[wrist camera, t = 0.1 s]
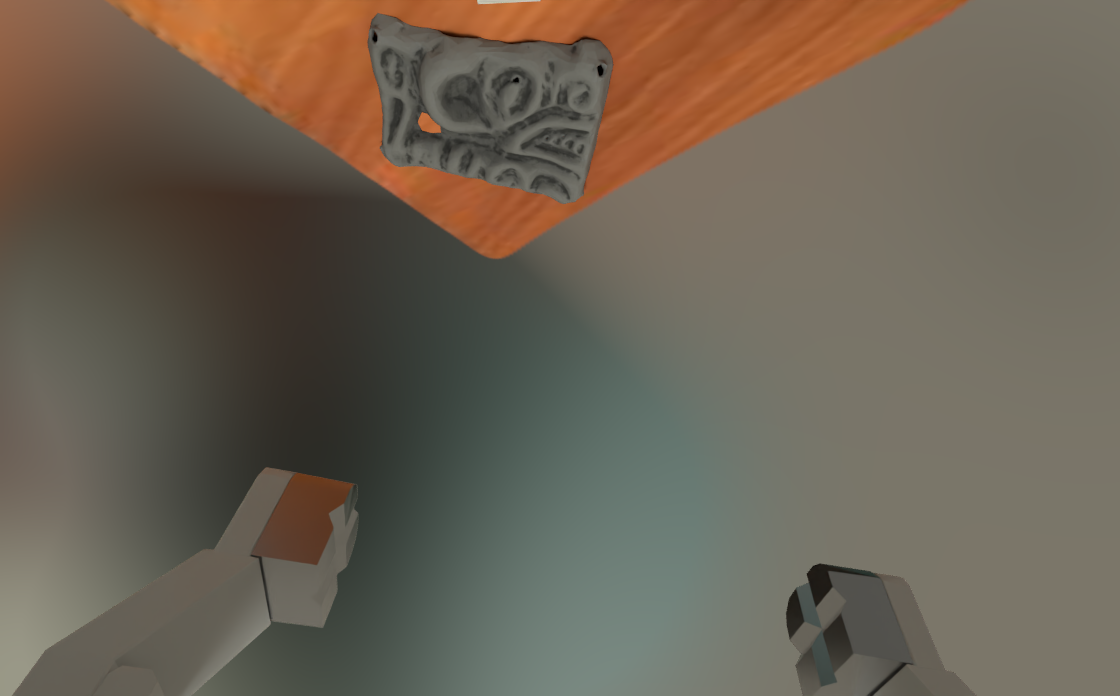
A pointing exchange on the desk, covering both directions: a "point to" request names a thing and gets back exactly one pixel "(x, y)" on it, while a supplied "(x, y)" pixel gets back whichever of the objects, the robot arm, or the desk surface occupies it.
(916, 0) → the desk surface
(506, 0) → the post
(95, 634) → the robot arm
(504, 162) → the wall plaque
